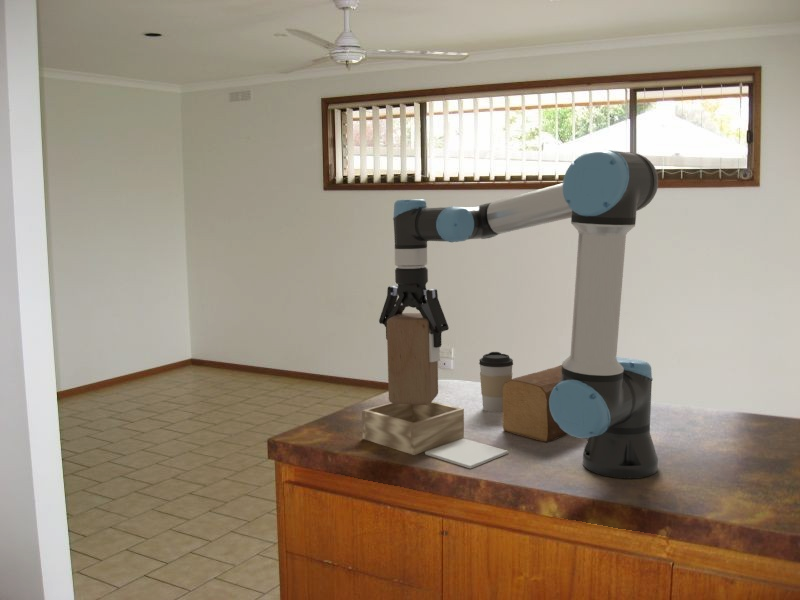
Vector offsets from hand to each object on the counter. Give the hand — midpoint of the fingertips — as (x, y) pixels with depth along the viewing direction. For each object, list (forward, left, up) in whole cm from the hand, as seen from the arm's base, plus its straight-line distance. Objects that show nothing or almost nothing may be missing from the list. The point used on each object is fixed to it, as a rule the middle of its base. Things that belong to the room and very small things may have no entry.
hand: (413, 357), depth 177 cm
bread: (-19, -35, -20) cm, 44 cm away
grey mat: (-16, 0, -20) cm, 25 cm away
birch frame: (0, 0, -20) cm, 20 cm away
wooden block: (0, 0, -10) cm, 10 cm away
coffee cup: (+1, -33, -20) cm, 38 cm away
